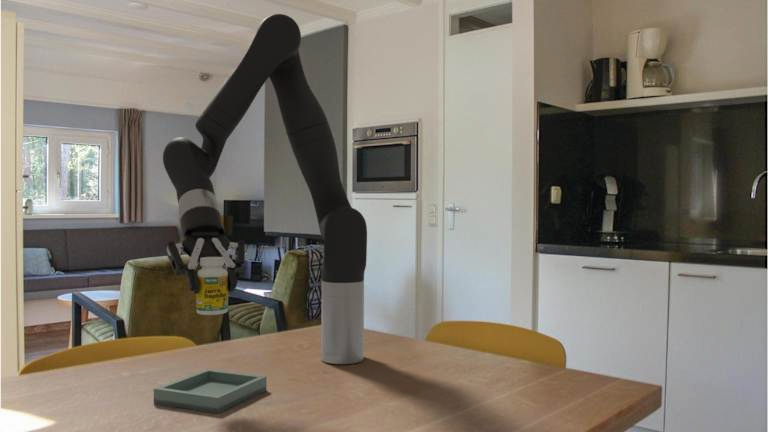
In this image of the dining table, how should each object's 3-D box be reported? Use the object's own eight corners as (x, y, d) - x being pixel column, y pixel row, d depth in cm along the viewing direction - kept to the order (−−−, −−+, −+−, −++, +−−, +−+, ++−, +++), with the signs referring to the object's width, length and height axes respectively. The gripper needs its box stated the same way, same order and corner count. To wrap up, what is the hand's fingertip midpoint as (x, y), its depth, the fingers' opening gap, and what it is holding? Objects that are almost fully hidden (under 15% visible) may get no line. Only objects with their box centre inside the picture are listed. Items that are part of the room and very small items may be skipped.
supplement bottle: (222, 309, 112) (222, 255, 111) (232, 313, 107) (232, 257, 107) (192, 311, 109) (192, 257, 108) (201, 316, 104) (201, 259, 104)
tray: (207, 382, 117) (207, 369, 117) (266, 390, 112) (266, 376, 112) (153, 403, 104) (153, 388, 104) (217, 413, 99) (217, 397, 99)
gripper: (162, 204, 111) (173, 278, 100) (242, 205, 118) (260, 274, 107) (158, 232, 116) (168, 306, 105) (235, 231, 122) (251, 300, 112)
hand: (214, 289), depth 106 cm, fingers closed on supplement bottle, 5 cm apart
